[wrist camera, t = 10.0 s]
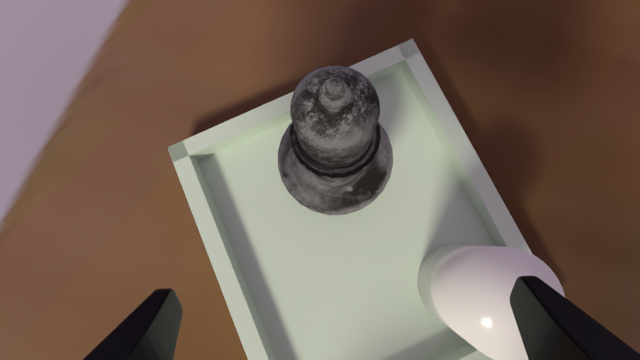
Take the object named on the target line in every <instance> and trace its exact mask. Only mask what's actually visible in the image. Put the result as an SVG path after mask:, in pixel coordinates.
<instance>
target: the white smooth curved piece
mask: <svg viewBox="0 0 640 360" xmlns="http://www.w3.org/2000/svg"><path fill="white" fill-rule="evenodd" d="M519 276H536V277H538V278H540V279H541V280H542V281H544V282H545V283H546V284H548V285H549V286H550V287H552V288H553V289H554V290H556V291H557V292H558V293H560V294H561V295H562V296H564V297H565V294H564V291H563V288H562V286H561V284H560V282H559V280H558V278H557V277H556V275H555V274H554V272H553V271H552V270H551V269H550V268H549V267H548V266H547V265H546V264H545V263H544V262H543V261H542V260H540V259H539V258H538V257H536V256H534V255H533V254H531V253H529V252H527V251H524V250H521V249H518V248H512V247H497V246H477V245H456V244H451V245H445V246H442V247H439V248H437V249H435V250H433V251H432V252H431V253H430V254H429V255H428V256H427V257H426V258H425V259H424V260H423V262H422V264H421V266H420V269H419V272H418V278H417V286H418V291H419V295H420V298H421V300H422V302H423V304H424V305H425V307H426V308H427V309H428V310H429V311H430V312H431V313H432V314H433V315H434V316H435V317H437V318H438V319H439V320H440V321H442V322H443V323H444V324H445V325H447V326H448V327H449V328H451V329H452V330H453V331H454V332H456V333H457V334H458V335H459V336H461V337H462V338H463V339H465V340H466V341H467V342H468V343H470V344H471V345H472V346H473V347H475V348H476V349H477V350H479V351H480V352H481V353H483V354H485V355H486V356H488V357H490V358H492V359H495V360H529V359H528V356H527V354H526V351H525V348H524V345H523V342H522V339H521V336H520V333H519V330H518V327H517V324H516V320H515V317H514V314H513V311H512V308H511V305H510V294H511V291H512V289H513V286H514V284H515V281H516V279H517V278H518V277H519Z"/></svg>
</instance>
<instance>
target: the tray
mask: <svg viewBox="0 0 640 360" xmlns="http://www.w3.org/2000/svg"><path fill="white" fill-rule="evenodd" d="M349 68H352V69H354V70H356V71H358V72H360V73H362V74H363V75H364V76H365V77H366V78H368V79H369V80H370V82H371V83H372V85H373V86H374V87H375V89H376V92H377V95H378V98H379V102H380V116H379V120H378V121H379V122H380V124H381V125H382V127H383V128H384V130H385V131H386V133H387V134H388V137H389V140H390V143H391V146H392V151H393V166H392V171H391V176H390V179H389V181H388V182H387V184H386V186H385V188H384V190H383V192H382V193H381V194H380V195H379V196H378V197H377V198H376V199H375V200H374V201H373V202H372V203H371V204H369V205H367V206H366V207H364V208H362V209H361V210H359V211H356V212H352V213H349V214H346V215H326V214H322V213H317V212H314V211H312V210H310V209H308V208H306V207H305V206H303V205H301V204H300V203H299V202H298V201H297V200H296V199H295V198H293V197H292V196H291V195H290V194H289V192H288V190H287V189H286V187H285V185H284V184H283V182H282V180H281V176H280V172H279V169H278V149H279V146H280V142H281V138H282V136H283V135H284V133H285V131H286V129H287V128H288V126H289V125H290V124H291V123H292V119H291V116H290V104H291V100H292V97H293V93H294V91H293V92H291V93H289V94H287V95H284V96H282V97H280V98H278V99H275V100H273V101H271V102H269V103H266V104H264V105H262V106H260V107H257V108H255V109H253V110H250V111H248V112H246V113H244V114H241V115H239V116H237V117H235V118H232V119H230V120H228V121H226V122H223V123H221V124H219V125H217V126H214V127H212V128H210V129H208V130H205V131H203V132H201V133H199V134H196V135H194V136H192V137H190V138H187V139H185V140H183V141H181V142H178V143H176V144H174V145H172V146H169V147H167V148H168V150H169V153H170V156H171V158H172V161H173V164H174V166H175V169H176V172H177V174H178V177H179V179H180V182H181V185H182V187H183V190H184V193H185V195H186V198H187V200H188V203H189V206H190V208H191V211H192V214H193V216H194V219H195V221H196V224H197V227H198V229H199V232H200V235H201V237H202V240H203V242H204V245H205V248H206V250H207V253H208V256H209V258H210V261H211V264H212V266H213V269H214V271H215V274H216V277H217V279H218V282H219V285H220V287H221V290H222V292H223V295H224V298H225V300H226V303H227V306H228V308H229V311H230V313H231V316H232V319H233V321H234V324H235V327H236V329H237V332H238V335H239V337H240V340H241V342H242V345H243V348H244V350H245V353H246V356H247V358H248V360H495V359H492V358H490V357H488V356H486V355H485V354H483V353H481V352H480V351H479V350H477V349H476V348H475V347H473V346H472V345H471V344H470V343H468V342H467V341H466V340H465V339H463V338H462V337H461V336H459V335H458V334H457V333H456V332H454V331H453V330H452V329H451V328H449V327H448V326H447V325H445V324H444V323H443V322H442V321H440V320H439V319H438V318H437V317H435V316H434V315H433V314H432V313H431V312H430V311H429V310H428V309H427V308H426V307H425V305H424V304H423V302H422V300H421V298H420V295H419V291H418V286H417V278H418V272H419V269H420V266H421V264H422V262H423V260H424V259H425V258H426V257H427V256H428V255H429V254H430V253H431V252H432V251H433V250H435V249H437V248H439V247H442V246H445V245H451V244H456V245H477V246H497V247H512V248H518V249H521V250H524V251H527V252H529V253H531V254H532V252H531V251H530V249H529V247H528V245H527V243H526V242H525V240H524V238H523V236H522V234H521V233H520V231H519V229H518V227H517V225H516V224H515V222H514V220H513V218H512V216H511V215H510V213H509V211H508V209H507V207H506V206H505V204H504V202H503V200H502V198H501V197H500V195H499V193H498V191H497V189H496V188H495V186H494V184H493V182H492V180H491V179H490V177H489V175H488V173H487V171H486V170H485V168H484V166H483V164H482V162H481V161H480V159H479V157H478V155H477V153H476V152H475V150H474V148H473V146H472V144H471V143H470V141H469V139H468V137H467V135H466V134H465V132H464V130H463V128H462V126H461V125H460V123H459V121H458V119H457V117H456V116H455V114H454V112H453V110H452V108H451V107H450V105H449V103H448V101H447V99H446V98H445V96H444V94H443V92H442V90H441V89H440V87H439V85H438V83H437V81H436V80H435V78H434V76H433V74H432V72H431V71H430V69H429V67H428V65H427V63H426V62H425V60H424V58H423V56H422V54H421V53H420V51H419V49H418V47H417V45H416V44H415V42H414V40H413V39H411V40H408V41H406V42H404V43H401V44H399V45H397V46H395V47H392V48H390V49H388V50H386V51H383V52H381V53H379V54H377V55H374V56H372V57H370V58H368V59H365V60H363V61H361V62H359V63H356V64H354V65H352V66H350V67H349Z"/></svg>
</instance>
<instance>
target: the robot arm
mask: <svg viewBox="0 0 640 360" xmlns="http://www.w3.org/2000/svg"><path fill="white" fill-rule="evenodd" d="M510 305H511V308H512V311H513V314H514V317H515V320H516V324H517V327H518V330H519V333H520V336H521V339H522V342H523V345H524V348H525V351H526V354H527V356H528V359H529V360H640V354H639V353H638V352H636V351H635V350H634V349H632V348H631V347H630V346H628V345H627V344H626V343H624V342H623V341H622V340H620V339H619V338H618V337H616V336H615V335H614V334H613V333H611V332H610V331H609V330H607V329H606V328H605V327H603V326H602V325H601V324H599V323H598V322H597V321H595V320H594V319H593V318H591V317H590V316H589V315H587V314H586V313H585V312H583V311H582V310H581V309H579V308H578V307H577V306H576V305H574V304H573V303H572V302H570V301H569V300H568V299H566V298H565V297H564V296H562V295H561V294H560V293H558V292H557V291H556V290H554V289H553V288H552V287H550V286H549V285H548V284H546V283H545V282H544V281H542V280H541V279H540V278H538V277H536V276H519V277H518V278H517V279H516V281H515V284H514V286H513V289H512V291H511V294H510ZM181 319H182V306H181V304H180V302H179V299H178V297H177V295H176V293H175V291H174V290H173V289H171V288H168V289H157V290H155V291H154V292H153V293H152V294H151V295H150V296H149V297H148V298H147V299H146V300H145V301H144V302H142V303H141V304H140V305H139V306H138V307H137V308H136V309H135V310H134V311H133V312H132V313H131V314H130V315H129V316H128V317H127V318H126V319H125V320H124V321H123V322H122V323H121V324H120V325H118V326H117V327H116V328H115V329H114V330H113V331H112V332H111V333H110V334H109V335H108V336H107V337H106V338H105V339H104V340H103V341H102V342H101V343H100V344H99V345H98V346H97V347H96V348H94V349H93V350H92V351H91V352H90V353H89V354H88V355H87V356H86V357H85V358H84V359H83V360H173V357H174V352H175V347H176V343H177V338H178V333H179V328H180V324H181Z"/></svg>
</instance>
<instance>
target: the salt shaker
mask: <svg viewBox="0 0 640 360" xmlns="http://www.w3.org/2000/svg"><path fill="white" fill-rule="evenodd" d="M290 116H291V119H292V123H291V124H290V125H289V126H288V128H287V129H286V131H285V133H284V135H283V136H282V138H281V142H280V146H279V149H278V169H279V172H280V176H281V180H282V182H283V184H284V185H285V187H286V189H287V190H288V192H289V194H290V195H291V196H292V197H293V198H295V199H296V200H297V201H298V202H299V203H300V204H301V205H303V206H305V207H306V208H308V209H310V210H312V211H314V212H317V213H322V214H326V215H346V214H349V213H352V212H356V211H359V210H361V209H362V208H364V207H366V206H367V205H369V204H371V203H372V202H373V201H374V200H375V199H376V198H377V197H378V196H379V195H380V194H381V193H382V192H383V190H384V188H385V186H386V184H387V182H388V181H389V179H390V176H391V171H392V166H393V151H392V146H391V143H390V140H389V137H388V134H387V133H386V131H385V130H384V128H383V127H382V125H381V124H380V122H379V121H378V120H379V116H380V102H379V98H378V95H377V92H376V89H375V87H374V86H373V85H372V83H371V82H370V80H369V79H368V78H366V77H365V76H364V75H363V74H362V73H360V72H358V71H356V70H354V69H352V68H349V67H344V66H339V65H338V66H326V67H322V68H319V69H316V70H314V71H313V72H311V73H309V74H307V75H306V76H305V77H304V78H303V79H302V80H301V81H300V82H299V84H298V85H297V87H296V89H295V90H294V93H293V97H292V100H291V104H290Z"/></svg>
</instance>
